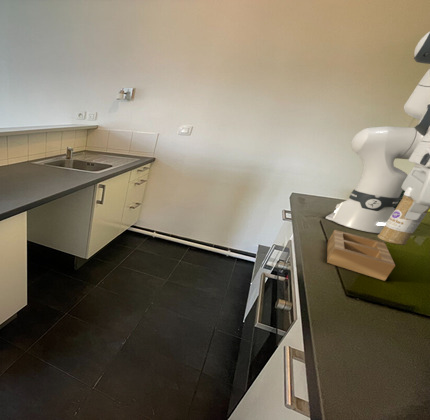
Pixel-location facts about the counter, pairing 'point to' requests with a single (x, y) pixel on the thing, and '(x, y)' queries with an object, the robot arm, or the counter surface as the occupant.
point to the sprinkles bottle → (401, 222)
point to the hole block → (359, 254)
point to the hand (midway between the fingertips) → (407, 215)
